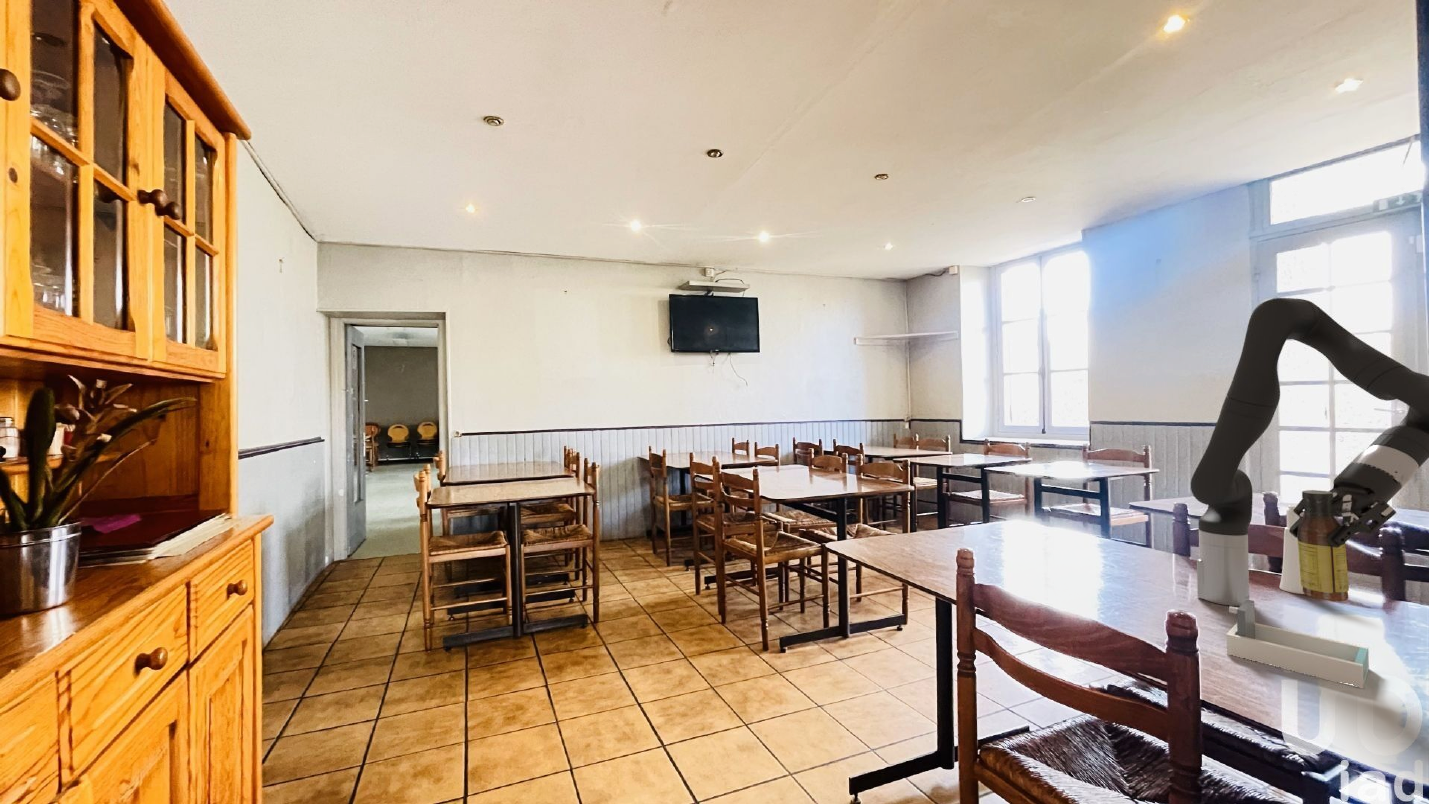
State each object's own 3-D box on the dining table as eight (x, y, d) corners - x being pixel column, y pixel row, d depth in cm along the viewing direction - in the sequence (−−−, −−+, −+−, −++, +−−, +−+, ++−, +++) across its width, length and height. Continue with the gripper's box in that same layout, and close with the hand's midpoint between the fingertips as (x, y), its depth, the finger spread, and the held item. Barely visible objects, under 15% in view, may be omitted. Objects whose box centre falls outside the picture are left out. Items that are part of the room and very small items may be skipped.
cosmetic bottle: (1286, 592, 147) (1284, 507, 147) (1274, 585, 153) (1272, 503, 153) (1317, 595, 145) (1315, 508, 145) (1305, 588, 150) (1303, 504, 150)
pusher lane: (1226, 654, 114) (1226, 634, 114) (1240, 638, 121) (1239, 619, 121) (1362, 688, 100) (1362, 666, 100) (1368, 668, 107) (1368, 647, 107)
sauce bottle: (1337, 593, 109) (1334, 489, 109) (1357, 604, 104) (1354, 494, 104) (1292, 589, 112) (1289, 488, 112) (1309, 600, 106) (1305, 493, 106)
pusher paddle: (1225, 645, 116) (1224, 606, 116) (1235, 633, 121) (1234, 597, 121) (1245, 650, 113) (1244, 611, 113) (1255, 638, 118) (1254, 600, 118)
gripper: (1321, 457, 115) (1261, 518, 115) (1405, 465, 100) (1337, 534, 101) (1349, 483, 115) (1289, 543, 115) (1437, 495, 100) (1369, 564, 101)
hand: (1312, 539), depth 108 cm, fingers closed on sauce bottle, 6 cm apart
